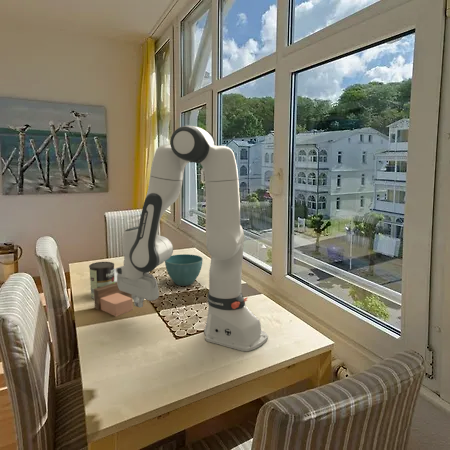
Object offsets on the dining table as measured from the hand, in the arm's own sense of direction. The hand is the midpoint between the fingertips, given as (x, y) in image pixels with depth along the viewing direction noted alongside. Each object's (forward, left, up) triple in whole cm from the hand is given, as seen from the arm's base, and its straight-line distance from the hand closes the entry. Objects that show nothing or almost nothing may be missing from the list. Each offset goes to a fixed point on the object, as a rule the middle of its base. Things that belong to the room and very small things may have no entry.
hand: (138, 306), depth 133 cm
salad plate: (+44, -23, -6) cm, 50 cm away
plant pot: (+17, -40, -6) cm, 44 cm away
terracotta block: (+14, 0, -6) cm, 15 cm away
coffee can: (+32, -5, -6) cm, 33 cm away
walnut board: (+21, -5, -5) cm, 22 cm away
